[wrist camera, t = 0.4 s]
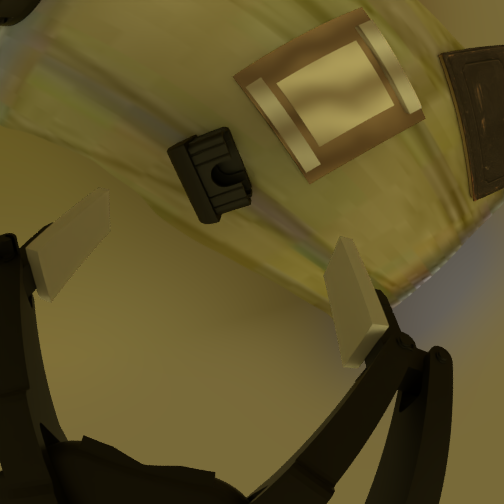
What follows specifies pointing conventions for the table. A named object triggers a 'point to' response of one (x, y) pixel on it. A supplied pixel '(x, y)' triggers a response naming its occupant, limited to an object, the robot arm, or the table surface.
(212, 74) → the table surface
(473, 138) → the hardcover book
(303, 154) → the display riser
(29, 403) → the robot arm
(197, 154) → the black notched block
